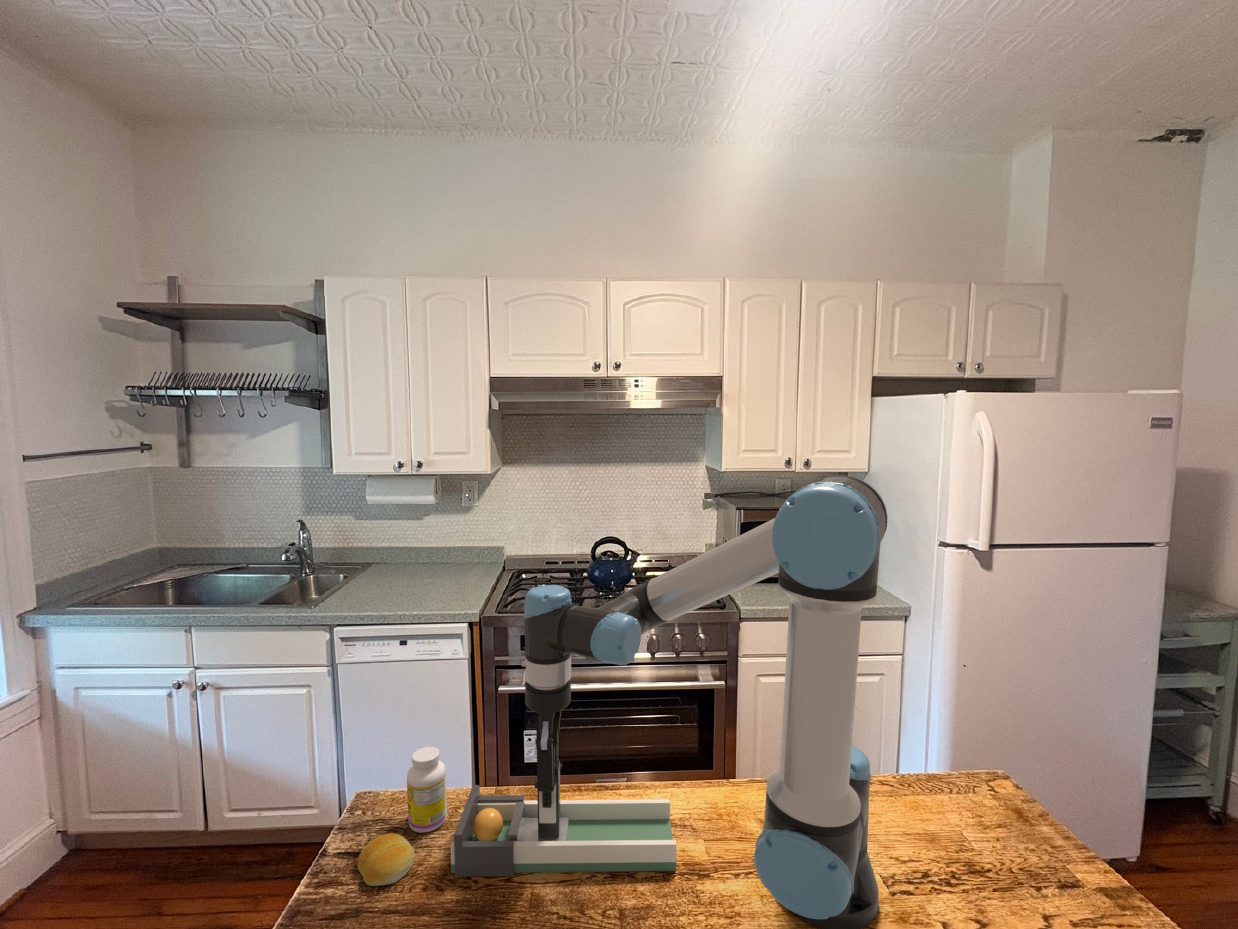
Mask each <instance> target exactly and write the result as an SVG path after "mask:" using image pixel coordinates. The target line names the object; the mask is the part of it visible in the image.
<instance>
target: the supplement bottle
mask: <svg viewBox="0 0 1238 929" xmlns="http://www.w3.org/2000/svg"><path fill="white" fill-rule="evenodd" d="M411 763H412V766H411V767H410V768H409V769H408V771H407V774H406V787H407V790H406V791H407V797H406V798H407V817H408V818H407V819H408V821H407V822H408V826H409V828H410V829H411V830H412V831H414V832H415V833H421V834H423V833H431V832H433V831H435V830H438V829H439V828H440V827H441V826H443V824H444V823H445V822H446V819H447V818H448V806H447V805H448V802H447V801H448V800H447V774H446V773H447V769H446V766H445V764H444V763H443V761H441V760H440V750H439V748H437V747H435V746H425V747H422V748H421V747H420V748H418V749H417V750H415V751H414V752H413V753H412V756H411Z"/></svg>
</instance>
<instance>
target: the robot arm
mask: <svg viewBox="0 0 1238 929" xmlns="http://www.w3.org/2000/svg"><path fill="white" fill-rule="evenodd" d="M888 517H889V516H888V512H887V507H886V505H885V502H884V500H883V497H882V496H881V494H879V493H878V491H877V490H876V489H875V488H874V487H873V486H871V485H870V484H869V483H868V482H866V481H864V480H863V479H861V478H857V477H855V476H849V475H839V474H838V475H833V476H831V475H830V476H827V477H824V478H822V479H820V480H817V481H815V482H813V483H810V484H808V485H805V486H802V487H800V488H799V489H797V490H796V491H795V492H793V493H792V494H791V495H790V496H788V498H787V499H786V500H785V501H784V502H783V504H782V505H781V507H780V508H779V510H778V511H777V514H776V516H775V517H774V518H772V519H770V520H768V521H766V522H764V523H762V524H760V525H758V526H757V527H754V528H752V529H751V530H748V531H747V532H744V533H742V534H740V535H738V536H736V537H734V538H731V539H730V540H729V541H726V542H724V543H722V544H720V545H718V546H717V547H714V548H712V549H710V550H708V551H706V552H704V553H701V555H698V556H696V557H694V558H692V559H690V560H688V561H686V562H684V563H682V564H679V565H678V566H676V567H674V568H672V569H670V570H668V571H666V572H664V573H662V574H660V575H658V576H656V577H653V578H652V579H650V580H649V581H647V582H644V583H642V584H637V585H635V586H633V587H632V588H630V589H629V590H628V591H626V592H624V593H623V594H621V595H619V596H617V597H615V598H613V599H612V600H610V601H608V602H606V603H604V604H603V605H601V606H599V607H586V606H581V605H579V604H576V603H575V604H574V603H572V598H571V596H572V595H571V591H570V590H569V589H568V588H567V587H564V586H562V585H554V584H549V585H548V584H546V585H545V584H544V585H539V586H535V587H533V588H530V589H529V590H528V591H527V592H526V595H525V597H524V600H525V601H524V614H523V622H524V623H523V624H524V626H523V627H524V641H525V642H524V645H525V647H524V648H525V651H524V657H525V658H524V659H525V660H522V661H521V667H523V668H525V670H524V672H525V685H524V688H525V689H524V690H525V691H524V696H525V697H524V699H525V700H524V702H525V705H526V707H527V708H528V709H529V710H530V711H532V712H535V713H536V717H535V720H534V728H535V729H534V730H535V731H536V738H535V742H534V743H535V747H536V771H537V772H536V774H537V775H536V777H537V780H536V781H535V783H534V787H533V788H534V789H537V793H538V792H539V823H556V783H555V760H559V757H560V754H559V746H560V745H559V744H560V743H559V735H560V731H561V730H560V729H561V725H560V724H561V718H562V710H565V709H566V708H567V707H568V706H569V705H570V704H571V701H572V696H571V694H572V686H571V685H572V682H571V678H572V655H575V656H580V657H582V658H583V657H584V658H586V659H591V660H594V661H597V662H600V663H603V664H609V665H610V664H612V665H619V666H625V665H628V664H630V663H631V662H632V661H633V660H634V659H635V656H636V654H637V653H638V652H639V648H640V646H641V640H642V636H643V635H644V634H646V633H647V632H649V631H651V630H653V629H655V628H658V627H659V626H662V625H664V624H666V623H669V621H672V620H674V619H676V618H678V617H682V616H683V615H686V614H688V613H690V612H692V611H694V610H697V609H699V608H701V607H703V606H706V605H708V604H710V603H713V602H716V601H717V600H720V599H721V598H723V597H727V596H728V595H731V594H733V593H736V592H737V591H740V590H742V589H745V588H747V587H749V586H751V585H752V586H753V585H754V584H756V583H758V582H761V581H763V580H765V579H768V578H770V577H772V576H775V575H777V574H778V576H777V577H778V579H777V581H778V582H777V585H778V588H780V589H781V591H782V592H783V593H784V594H785V595H786V596H787V597H788V599H789V602H788V616H787V617H788V619H787V620H788V621H787V637H786V638H787V639H786V650H785V651H786V654H785V670H784V673H785V674H784V688H783V689H784V690H783V705H782V706H783V708H782V724H781V738H780V739H781V740H780V753H779V754H780V757H779V768H778V769H775V770H773V771H772V773H770V774H769V776H768V778H767V781H766V787H765V788H766V790H765V793H766V794H765V806H764V807H765V808H764V820H763V828H762V831H761V833H760V834H759V836H758V838H757V839H756V842H755V850H754V854H753V855H754V857H753V860H754V867H755V871H756V873H757V876H758V878H759V880H760V882H761V883H762V885H763V887H764V888H766V889H767V891H769V892H770V896H772V898H773V899H774V900H776V901H777V903H779V904H781V905H782V906H783V907H785V908H786V909H787V910H789V911H791V913H792V914H794V916H796V917H797V918H799V919H800V920H802V921H804V922H805V923H808V924H810V925H811V926H814V927H816V928H819V929H864V928H867V927H868V926H870V925H871V924H872V923H873V921H874V920H875V919H876V916H877V914H878V911H879V894H880V893H879V892H880V891H879V886H878V882H877V880H876V876H875V873H874V869H873V865H872V862H871V860H870V856H869V852H868V838H869V812H870V808H869V807H870V786H871V784H870V783H871V782H870V781H871V780H872V774H871V764H870V763H871V762H870V760H869V758H868V756H867V755H866V753H865V752H864V751H862V750H861V749H860V748H858V747H856V746H855V745H854V744H853V739H854V738H853V737H854V736H853V733H854V724H855V723H854V721H855V720H854V719H855V708H856V694H857V680H858V679H857V678H858V664H859V651H860V637H861V626H862V624H861V622H862V612H863V611H862V609H863V608H864V607H866V606H867V605H868V604H870V603H871V602H873V601H874V600H875V599H876V598H877V589H878V578H879V565H880V553H881V552H880V551H881V542H882V540H883V539H884V536H885V535H886V531H887V528H888ZM562 767H563V763H562V762H560V770H562ZM537 781H538V782H537Z"/></svg>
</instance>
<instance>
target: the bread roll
mask: <svg viewBox="0 0 1238 929" xmlns="http://www.w3.org/2000/svg"><path fill="white" fill-rule="evenodd" d="M415 855H416V854H415V848H414V847H413V845H411V843H410V842H409V840H408V839H407V838H405V836H403V835H401V834H400V833H393V832H388V833H384V834H381V835H379V836H376V837H375V838H374V839H372V840H371V841H370V842H368V843H367V844H366V845H365V846H364V847H363V848H362V850H361V852H360V853H359V855H358V858H357V869H358V871H359V872H360V875H361V876H362V878H363V881H364V882H365V884H366V885H368V886H370V887H378V886H379V887H380V886H386V885H392V884H394V883H397V882H398V881H400V879H402V878H404V877H405V876H406V875H407V874H408V872H410V870H411V868H412V866H413V865H414V861H415Z"/></svg>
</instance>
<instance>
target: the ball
mask: <svg viewBox="0 0 1238 929" xmlns="http://www.w3.org/2000/svg"><path fill="white" fill-rule="evenodd" d="M502 828H503V819H502V816H501V814H500V813H499V812H498V811H497V810H496V809H494V808H486V809H483V810H482V811H480V812H479V813H478V814H477V816H476V817H475V819H474V822H473V833H474V835H475V837H476V838H477V839H478V840H479V841H494V840H495V839H496V838H497V837H498V836H499V835H500V833H501V831H502Z"/></svg>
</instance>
